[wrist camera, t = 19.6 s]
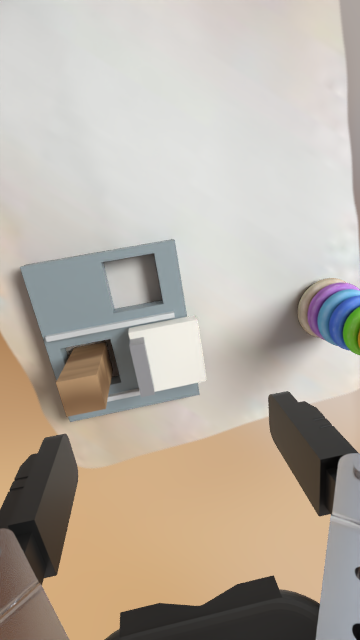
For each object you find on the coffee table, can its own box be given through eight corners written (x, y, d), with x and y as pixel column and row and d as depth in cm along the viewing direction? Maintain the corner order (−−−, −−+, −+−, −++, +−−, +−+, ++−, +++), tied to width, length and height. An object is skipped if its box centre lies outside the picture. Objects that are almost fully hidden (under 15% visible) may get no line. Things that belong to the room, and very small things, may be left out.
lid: (128, 327, 37) (127, 339, 33) (195, 315, 37) (200, 325, 34) (142, 386, 39) (142, 403, 35) (203, 374, 40) (210, 389, 36)
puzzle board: (26, 264, 35) (17, 267, 33) (172, 239, 36) (175, 240, 34) (73, 412, 41) (68, 424, 39) (196, 386, 43) (200, 396, 40)
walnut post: (74, 347, 39) (55, 382, 30) (105, 341, 39) (96, 374, 31) (82, 375, 40) (66, 416, 32) (112, 369, 40) (105, 408, 32)
